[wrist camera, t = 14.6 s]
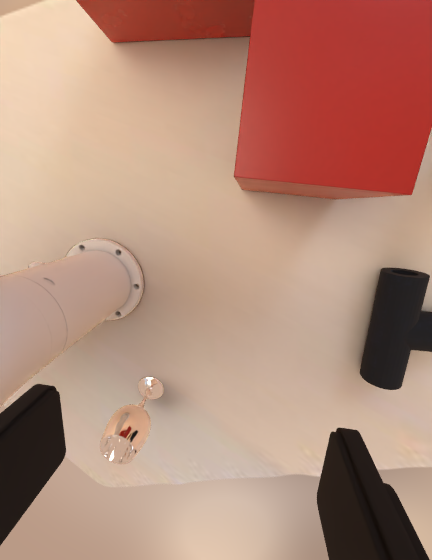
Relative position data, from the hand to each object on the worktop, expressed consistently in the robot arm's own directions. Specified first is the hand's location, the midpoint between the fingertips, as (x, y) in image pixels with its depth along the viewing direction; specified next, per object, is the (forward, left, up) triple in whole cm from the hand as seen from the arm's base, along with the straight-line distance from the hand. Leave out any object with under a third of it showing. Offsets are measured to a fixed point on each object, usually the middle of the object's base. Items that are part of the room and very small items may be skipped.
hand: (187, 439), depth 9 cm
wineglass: (-11, -23, -30) cm, 40 cm away
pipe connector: (+25, -5, -30) cm, 40 cm away
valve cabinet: (+6, +18, -30) cm, 36 cm away
